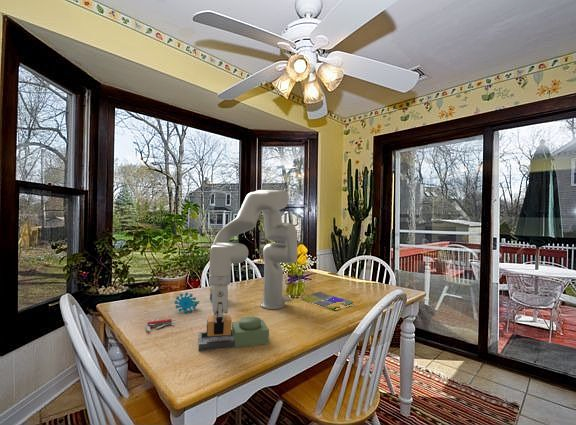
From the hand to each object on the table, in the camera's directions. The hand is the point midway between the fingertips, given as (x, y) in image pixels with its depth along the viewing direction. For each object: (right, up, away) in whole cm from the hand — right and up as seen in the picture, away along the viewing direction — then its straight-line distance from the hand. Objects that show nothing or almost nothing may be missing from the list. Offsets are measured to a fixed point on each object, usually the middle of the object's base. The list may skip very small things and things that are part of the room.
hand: (217, 329), depth 103 cm
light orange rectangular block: (0, -1, 0) cm, 1 cm away
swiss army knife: (-26, -4, +14) cm, 30 cm away
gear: (-22, -4, +32) cm, 39 cm away
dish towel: (+46, -7, +52) cm, 70 cm away
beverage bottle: (-12, -5, +50) cm, 51 cm away
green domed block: (+11, -5, +4) cm, 12 cm away
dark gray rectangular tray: (-1, -5, 0) cm, 5 cm away
